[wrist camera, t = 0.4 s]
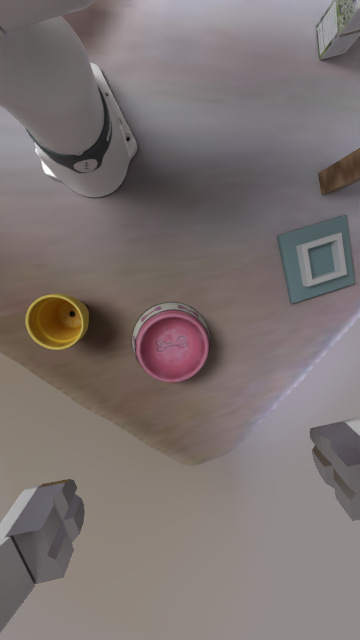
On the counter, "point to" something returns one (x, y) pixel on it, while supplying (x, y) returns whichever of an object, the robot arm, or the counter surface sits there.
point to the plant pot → (57, 321)
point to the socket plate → (317, 259)
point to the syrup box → (338, 28)
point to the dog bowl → (171, 341)
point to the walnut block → (341, 173)
